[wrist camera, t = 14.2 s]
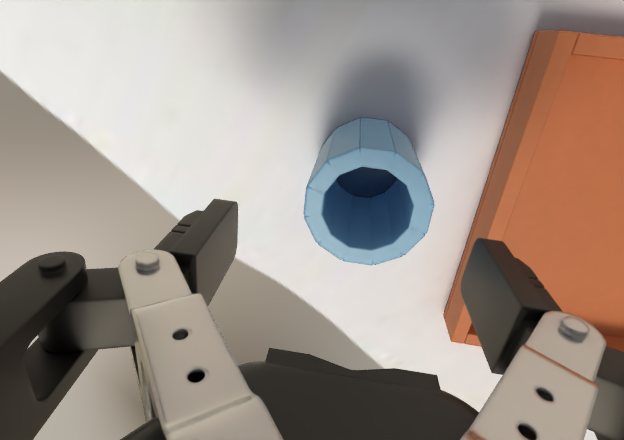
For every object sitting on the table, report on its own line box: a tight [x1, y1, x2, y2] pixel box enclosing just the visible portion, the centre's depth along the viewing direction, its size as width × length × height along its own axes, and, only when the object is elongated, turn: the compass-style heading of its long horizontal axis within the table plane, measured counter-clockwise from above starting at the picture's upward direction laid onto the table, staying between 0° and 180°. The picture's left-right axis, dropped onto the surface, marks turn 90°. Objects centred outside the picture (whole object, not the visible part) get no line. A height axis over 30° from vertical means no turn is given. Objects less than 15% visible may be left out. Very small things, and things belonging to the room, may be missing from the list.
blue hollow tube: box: [304, 118, 434, 265], centre depth 18 cm, size 5×5×6 cm
